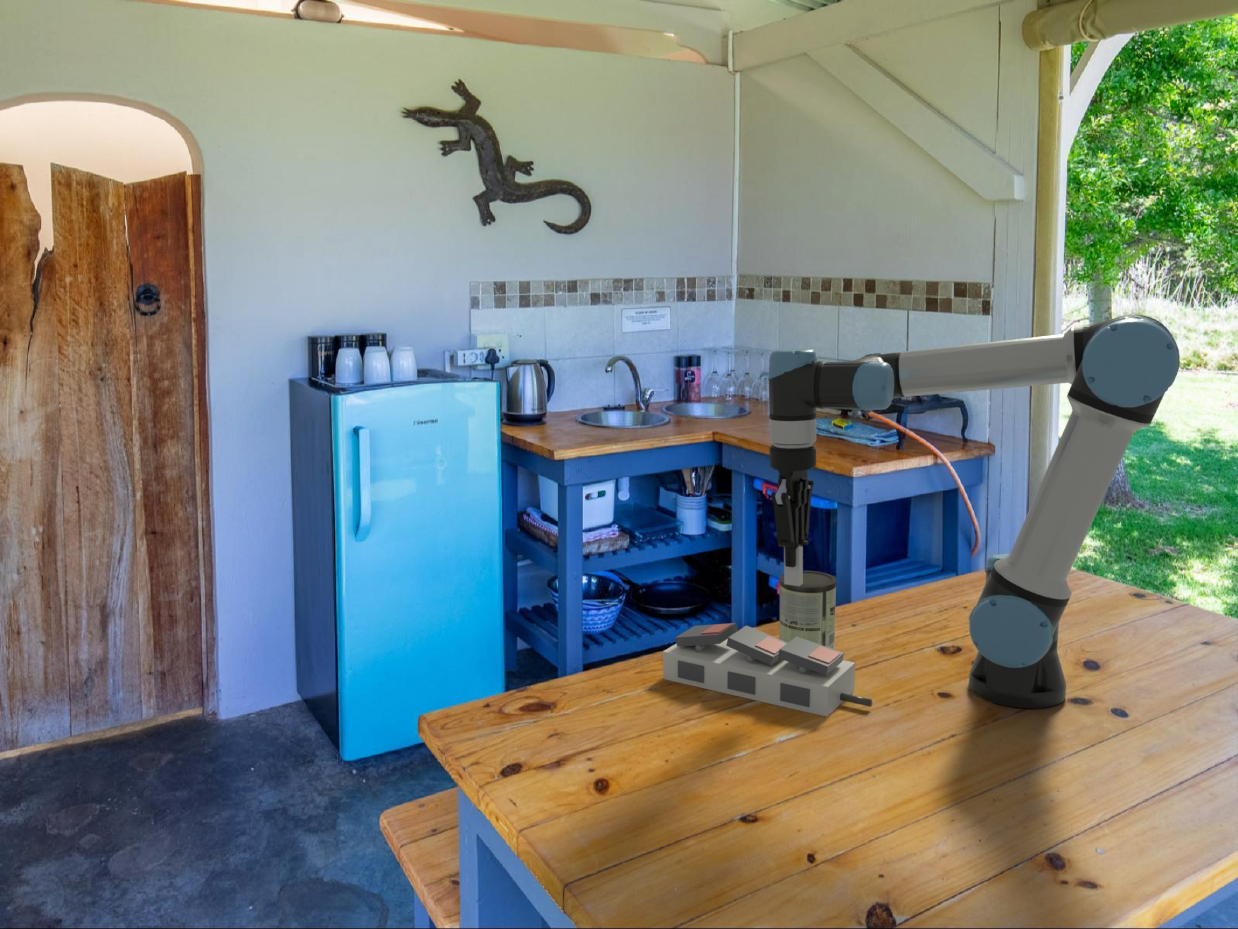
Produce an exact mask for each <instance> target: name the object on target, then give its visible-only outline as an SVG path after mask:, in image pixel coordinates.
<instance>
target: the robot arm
mask: <svg viewBox="0 0 1238 929" xmlns="http://www.w3.org/2000/svg"><path fill="white" fill-rule="evenodd" d="M816 354H817V353H816V351H815V350H814V349H812V348H798V347H797V348H780V349H775V350H774V351H772V352H771V354H770V356H769V361H768V364H769V365H768V377H767V381H768V405H769V407H768V412H769V414H768V415H769V417H768V418H769V422H768V423H767V425H766V426H767V428H768V430H769V442H770V443H771V445H770V446H769V449H768V450H769V451H768V452H769V467H770V468H771V469H772V470H775V471H776V470H777V471H778V478H777V479H778V480H777V484H776V487H777V491H772V492H771V495H770V499H771V502H772V505H773V511H774V520H775V530H776V536H777V537H776V539H777V545H778V547H781V548H783V574H784V584H787V585H795V586H800V585H802V584H803V571H804V565H803V564H804V559H803V558H804V557H803V556H804V553H803V551H804V548H803V545H804V546H808V544H809V540H807V539H808V538H809V531H810V530H809V528H810V518H811V517H810V516H811V506H812V493H813V488H814V485H815V483H814V480H813V479H808V475H809V474H808V471H810V470H813V469H814V468H815V467H816V466H817V447H816V446H815V444H814V443H816V442H817V409H823V410H824V409H831V410H832V409H833V410H834V409H835V410H837V409H838V410H855V411H856V410H858V411H859V410H861V411H864V412H869V411H870V412H871V411H879V410H880V411H881V410H887V409H888V408H889V407H890V406H891V404H892V401H893V399H900V398H906V397H907V398H908V397H916V396H919V397H920V396H929V395H942V394H953V393H955V394H956V393H965V392H975V391H987V390H997V389H998V390H999V389H1009V388H1011V389H1012V388H1023V387H1031V386H1033V387H1035V386H1044V385H1045V386H1047V385H1056V384H1067V383H1068V384H1070V388H1069V390H1068V392H1067V395H1066V398H1067V400H1068V402H1069V404H1070V406H1071V413H1070V415H1069V417H1068V420H1067V423H1066V424H1065V427H1064V430H1063V432H1062V433H1061V436H1060V438H1059V441H1058V443H1057V446H1056V448H1055V450H1054V453H1053V455H1052V456H1051V460H1050V462H1049V464H1048V466H1047V468H1046V470H1045V473H1044V475H1043V478H1042V480H1041V482H1040V484H1039V487H1038V489H1037V491H1036V494H1035V496H1034V498H1033V501H1032V502H1031V505H1030V507H1029V509H1028V512H1027V515H1026V517H1025V519H1024V521H1023V523H1022V525H1021V528H1020V531H1019V533H1018V535H1017V536H1016V539H1015V542H1014V544H1013V546H1012V549H1011V551H1010V553H999V554H992V555H991V556H989V557H988V558H987V561H986V566H985V569H984V572H985V582H984V587H983V588H982V591H981V593H980V595H979V598H978V600H977V602H976V605H975V606H974V607H973V609H972V610H971V613H970V614H969V618H968V621H969V623H968V625H969V626H968V628H969V629H968V630H969V634H970V635H969V636H970V638H971V641H972V643H973V645H974V646H975V648H976V649H977V653H976V656H975V659H974V660H973V663H972V665H971V668H970V671H969V674H968V676H969V677H968V688H969V689H970V690H971V692H972V693H973V694H974V695H976V696H977V697H979V698H982V699H984V700H986V701H988V702H991V703H994V704H998V705H1001V706H1006V707H1013V708H1019V709H1045V708H1050V707H1051V708H1052V707H1054V706H1057V705H1058V706H1059V704H1061V703H1063V702H1064V701H1065V700H1066V694H1067V682H1066V678H1065V676H1064V675H1065V674H1064V672H1063V667H1062V664H1061V660H1060V655H1059V653H1058V643H1059V642H1058V640H1059V626H1060V620H1061V618H1062V617H1063V613H1064V611H1066V610H1065V609H1066V608H1067V606H1068V602H1069V601H1070V598H1071V597H1072V590H1071V588H1070V586H1069V583H1068V581H1067V578H1068V577H1069V574H1070V572H1071V570H1072V567H1073V565H1074V563H1075V562H1076V559H1077V557H1078V556H1079V552H1080V550H1081V549H1082V546H1083V544H1084V541H1085V540H1086V537H1087V535H1088V533H1089V531H1090V528H1091V526H1092V524H1093V522H1094V520H1095V518H1096V516H1097V513H1098V511H1099V509H1100V507H1101V504H1102V502H1103V501H1104V498H1105V496H1106V494H1107V491H1108V490H1109V487H1110V485H1111V483H1112V481H1113V478H1114V477H1115V474H1116V472H1117V469H1118V468H1119V465H1120V463H1121V461H1122V459H1123V456H1124V454H1125V452H1126V450H1127V448H1128V446H1129V444H1130V442H1131V439H1132V437H1133V434H1134V433H1135V432H1136V431H1139V430H1142V429H1145V428H1147V427H1149V426H1150V425H1151V424H1152V422H1153V419H1154V417H1155V416H1156V413H1157V410H1158V408H1159V407H1160V405H1161V402H1162V400H1163V398H1164V396H1165V394H1166V392H1167V391H1169V388H1170V387H1171V386H1173V384H1174V382H1175V380H1176V377H1177V376H1178V373H1179V371H1180V370H1179V369H1180V362H1181V361H1180V357H1181V356H1180V351H1179V346H1178V345H1177V342H1176V340H1175V338H1174V336H1173V335H1172V333H1171V332H1170V330H1169V329H1168V327H1167V326H1165V324H1163V323H1162V322H1160V321H1159V320H1157V319H1155V318H1152V317H1150V316H1147V315H1143V314H1137V313H1136V314H1126V315H1125V314H1124V315H1121V316H1118V317H1114V318H1111V319H1107V320H1104V321H1098V322H1095V323H1089V324H1082V325H1073V326H1070V328H1069V329H1068V330H1067V331H1066V332H1064V333H1062V334H1052V335H1044V336H1034V337H1033V336H1032V337H1026V338H1024V337H1023V338H1015V339H1008V340H1007V339H1006V340H1005V339H1004V340H997V341H990V342H989V341H988V342H978V343H977V342H976V343H972V344H971V343H968V344H962V345H961V344H960V345H954V346H953V345H951V346H945V347H935V348H934V347H933V348H926V349H915V350H906V351H902V352H889V353H881V352H875V353H869V354H865V355H864V356H862V357H860V358H857V359H855V360H854V359H853V360H851V361H821V360H818V358H817V355H816Z"/></svg>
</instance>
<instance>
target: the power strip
mask: <svg viewBox="0 0 1238 929" xmlns="http://www.w3.org/2000/svg"><path fill="white" fill-rule="evenodd" d="M727 640H728V639H726V640H725V641H723V642H722V643H720V644H710V645H694V646H678V647H677V643H675V644H672V645H671V646H670V647H668V648H667V649H665V650H663V651H662V662H663V663H662V671H663V672H662V679H663V680H666V681H670V682H675V683H680V684H683V685H687V686H692V687H697V688H701V689H705V690H710V691H714V692H719V693H723V694H727V695H732V696H735V697H740V698H744V699H749V700H753V701H757V702H762V703H765V704H770V705H774V706H779V707H783V708H787V709H792V710H796V711H801V712H804V713H809V714H813V715H819V716H823V717H828V716H830V715H831V714H832V713H833V712H835V710H836V709H837V708H838V707H839V706H840V705H841V704H842V703H844V702H846V703H847V702H848V703H851V704H857V705H860V706H865V707H870V708H871V707H872V705H873V699H872V698H868V697H862V696H858V695H855V694H853V693H854V691H855V673H856V672H855V671H856V662H853V661H848V660H843V661H842V662H841V663H840V664H839V665H838V666H837V667H836V668H834V669H833V670H832V671H831V672H830V673H829V674H828V675H823V674H820V673H818V672H815V671H812V670H810V669H807V668H804V667H801V666H799V665H796V664H793V663H790V662H788V661H785V660H782V659H779V660H778V661H777V662H775V663H774V664H773V665H772V666H771V665H769V664H766V663H764V662H762V661H760V660H757V659H755V658H753V657H750V656H748V655H746V654H744V653H741V652H739V651H737V650H735V649H732V648H730V647H728V646H726V645H727Z"/></svg>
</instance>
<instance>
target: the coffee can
mask: <svg viewBox="0 0 1238 929" xmlns="http://www.w3.org/2000/svg"><path fill="white" fill-rule="evenodd" d="M837 583H838V579H837V578H836V577H835V576H834V575H832V574H829V573H827V572H822V571H816V570H803V584H802V585H800V586H795V585H787V584H784V573H783V574H781V575H780V577H779V638H778V639H780V640H782V641H785V642H787V643H788V642H790V641H791V640H792V639H794V638H795V637H796V636H797V637H800V638H803V639H806V640H809V641H811V642H814V643H817V644H820V645H823V646H826V647H829V648H831V649H834V650H835V643H836V642H835V638H836V635H835V634H836V632H835V631H836V602H837V600H836V597H837V596H836V594H837V593H836V592H837Z"/></svg>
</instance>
